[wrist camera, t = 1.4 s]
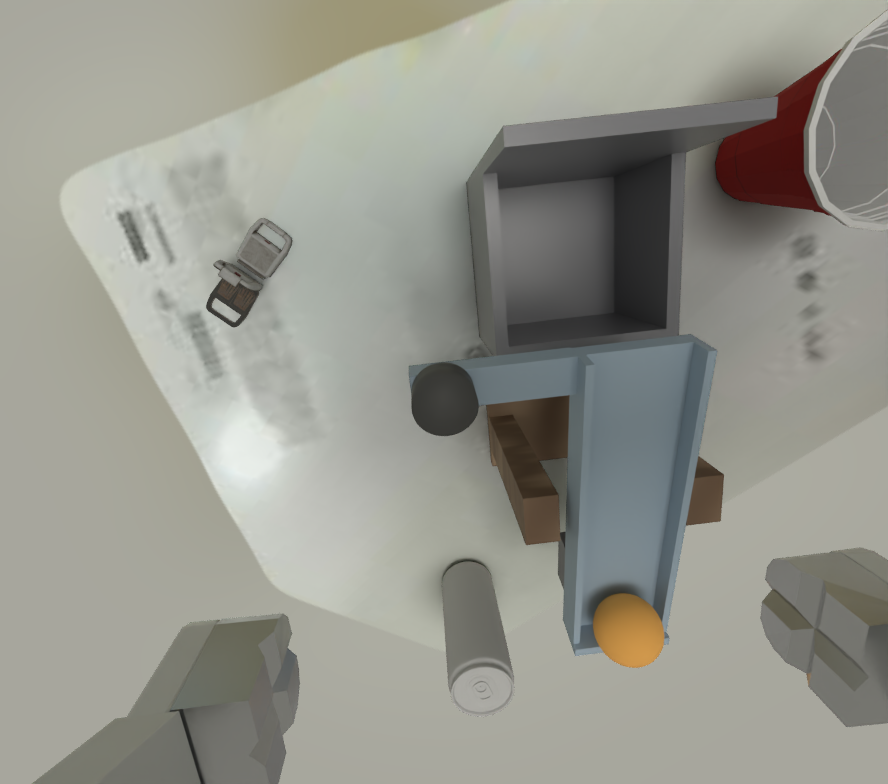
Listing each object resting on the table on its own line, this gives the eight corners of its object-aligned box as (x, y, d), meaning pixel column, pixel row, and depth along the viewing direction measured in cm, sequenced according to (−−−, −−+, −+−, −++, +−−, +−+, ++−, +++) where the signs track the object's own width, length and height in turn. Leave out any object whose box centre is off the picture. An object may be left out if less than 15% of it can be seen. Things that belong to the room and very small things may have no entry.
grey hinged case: (263, 214, 35) (242, 209, 31) (297, 240, 36) (281, 238, 31) (205, 306, 37) (178, 313, 33) (239, 329, 37) (217, 338, 33)
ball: (648, 575, 29) (682, 634, 26) (642, 617, 31) (672, 678, 27) (585, 583, 29) (610, 643, 25) (582, 625, 31) (605, 686, 27)
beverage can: (480, 550, 44) (502, 656, 32) (498, 589, 45) (525, 704, 34) (433, 568, 44) (438, 679, 33) (452, 607, 45) (463, 726, 34)
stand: (618, 381, 40) (725, 450, 26) (618, 446, 41) (719, 543, 28) (485, 396, 39) (521, 474, 26) (491, 461, 41) (527, 567, 27)
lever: (662, 307, 25) (726, 344, 20) (630, 574, 35) (669, 645, 30) (407, 336, 25) (407, 381, 20) (444, 597, 34) (450, 673, 29)
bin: (620, 165, 35) (778, 96, 20) (620, 320, 38) (754, 365, 23) (466, 182, 35) (503, 126, 19) (479, 336, 38) (519, 392, 23)
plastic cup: (743, 267, 37) (887, 273, 26) (653, 171, 35) (767, 132, 24) (852, 153, 35) (1060, 105, 24) (764, 43, 33) (948, -68, 22)
